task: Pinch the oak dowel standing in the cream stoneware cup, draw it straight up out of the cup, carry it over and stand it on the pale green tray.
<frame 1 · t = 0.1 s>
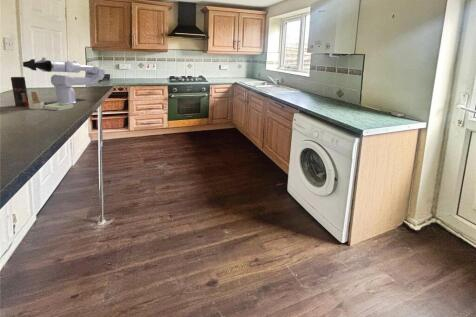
hand: (29, 64, 161), 22 cm above the countertop, tool horizontal, fingers open, 7 cm apart
cup: (37, 108, 167), on the countertop
tray: (59, 109, 169), on the countertop
dowel: (36, 107, 166), point 1 cm above the countertop, touching cup
deodorant: (22, 107, 170), on the countertop
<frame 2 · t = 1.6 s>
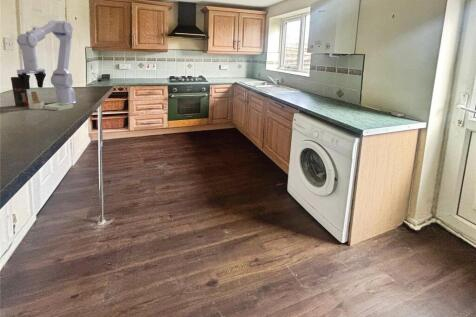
hand: (34, 88, 163), 10 cm above the countertop, tool pointing down, fingers open, 7 cm apart
nothing on the countertop moved.
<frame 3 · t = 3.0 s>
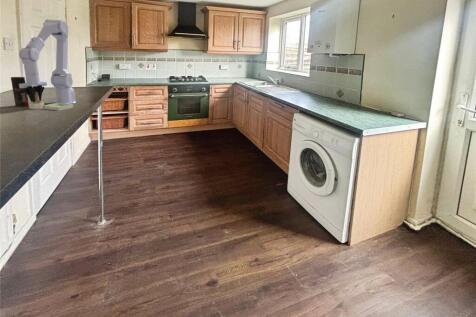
hand: (36, 101, 165), 4 cm above the countertop, tool pointing down, fingers closed on dowel, 3 cm apart
dowel: (36, 107, 166), point 1 cm above the countertop, touching cup, gripper
everything else where it was.
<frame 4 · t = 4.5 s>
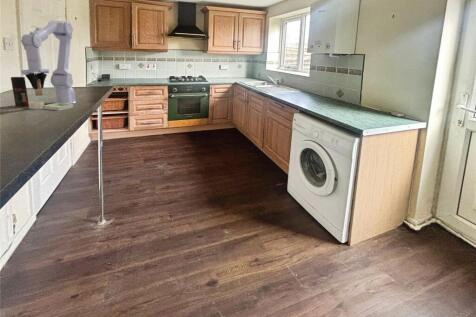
hand: (38, 88, 164), 10 cm above the countertop, tool pointing down, fingers closed on dowel, 3 cm apart
dowel: (39, 95, 165), point 7 cm above the countertop, touching gripper
everything else where it was.
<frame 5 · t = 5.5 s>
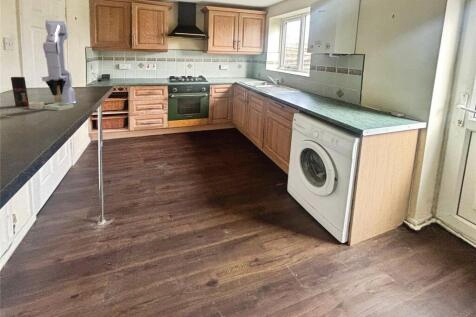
hand: (57, 94, 167), 7 cm above the countertop, tool pointing down, fingers closed on dowel, 3 cm apart
dowel: (58, 101, 168), point 4 cm above the countertop, touching gripper
everything else where it was.
when the fingers open (5 cm above the countertop, at t = 6.2 s): dowel stays where it is, resting on tray.
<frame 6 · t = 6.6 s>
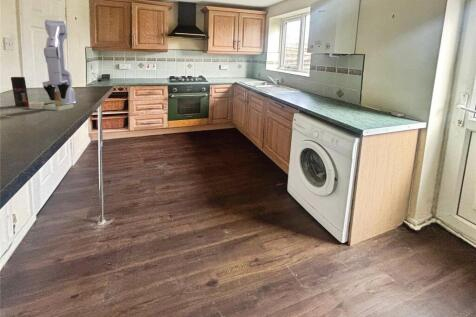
hand: (58, 99, 167), 5 cm above the countertop, tool pointing down, fingers open, 6 cm apart
dowel: (58, 107, 169), point 1 cm above the countertop, touching tray
everything else where it was.
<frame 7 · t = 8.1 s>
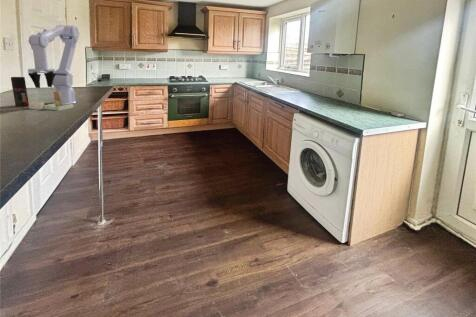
hand: (43, 87, 168), 10 cm above the countertop, tool pointing down, fingers open, 7 cm apart
nothing on the countertop moved.
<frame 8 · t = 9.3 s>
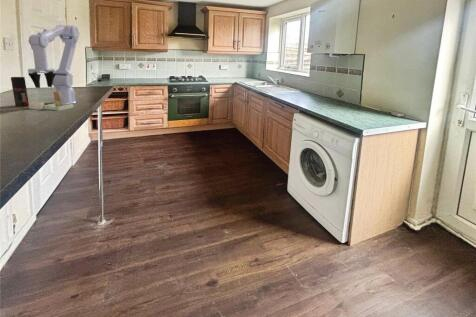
hand: (43, 87, 168), 10 cm above the countertop, tool pointing down, fingers open, 7 cm apart
nothing on the countertop moved.
at the end: dowel inside the target area on the tray (0.1 cm from its centre), point 0.8 cm above the tray's base; dowel tilted 0°; the gripper is holding nothing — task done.
